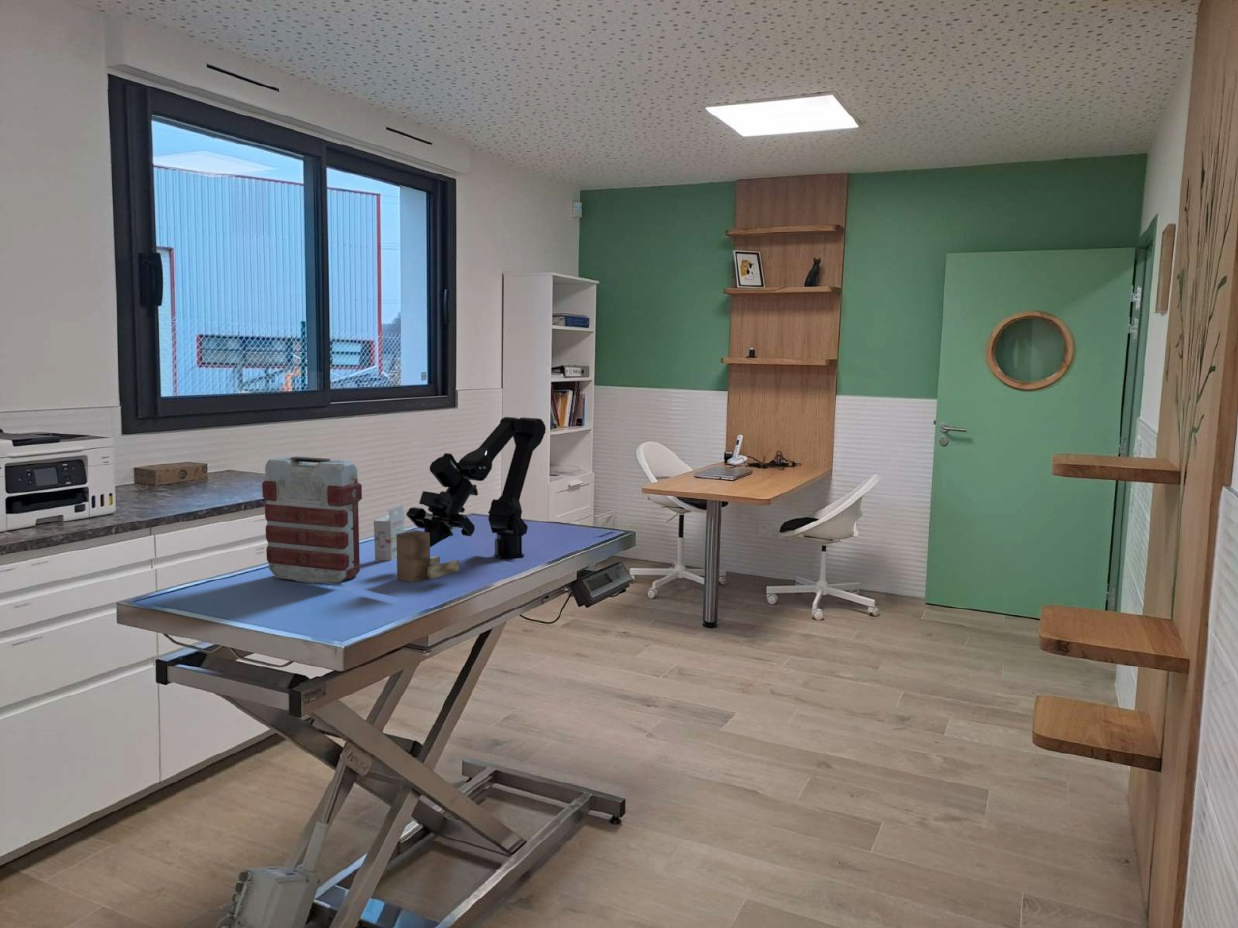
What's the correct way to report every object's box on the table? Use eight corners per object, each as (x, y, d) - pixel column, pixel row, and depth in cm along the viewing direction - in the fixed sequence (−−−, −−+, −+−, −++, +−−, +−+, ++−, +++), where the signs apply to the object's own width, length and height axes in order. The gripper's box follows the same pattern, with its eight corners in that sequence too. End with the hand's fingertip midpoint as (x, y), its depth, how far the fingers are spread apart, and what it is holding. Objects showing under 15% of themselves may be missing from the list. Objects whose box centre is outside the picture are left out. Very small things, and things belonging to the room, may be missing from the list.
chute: (439, 568, 232) (438, 553, 232) (468, 574, 227) (468, 559, 226) (386, 583, 217) (385, 567, 217) (416, 590, 212) (415, 573, 211)
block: (415, 573, 222) (414, 530, 220) (430, 576, 219) (429, 532, 218) (397, 579, 217) (396, 534, 215) (412, 582, 214) (411, 536, 213)
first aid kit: (365, 580, 220) (362, 458, 216) (344, 588, 212) (340, 462, 209) (287, 571, 228) (283, 453, 224) (264, 579, 220) (259, 457, 216)
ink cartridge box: (388, 556, 245) (387, 503, 243) (405, 558, 244) (404, 504, 242) (373, 564, 236) (372, 508, 235) (391, 565, 236) (390, 509, 234)
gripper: (411, 475, 227) (378, 525, 219) (466, 482, 217) (434, 534, 209) (433, 502, 235) (402, 551, 227) (488, 510, 225) (457, 561, 217)
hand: (423, 549), depth 220 cm, fingers closed, pressing on block
